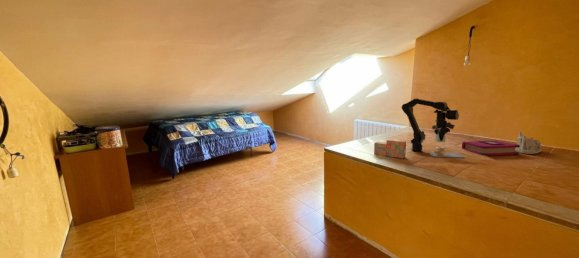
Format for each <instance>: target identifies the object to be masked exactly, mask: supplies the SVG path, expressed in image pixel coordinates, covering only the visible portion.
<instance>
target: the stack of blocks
mask: <svg viewBox="0 0 579 258" xmlns="http://www.w3.org/2000/svg"><path fill="white" fill-rule="evenodd" d="M373 144H374V145H373V147H374V150H373V155H376V154H377V155H376V156H382V157H383V156H384V157H392V158H398V159H405V158H406V152H407V151H406V150H407V140H404V139H403V140H402V139H394V138H388V139H386V142H385V141H375V142H374V143H373Z"/></svg>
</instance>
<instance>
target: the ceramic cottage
mask: <svg viewBox="0 0 579 258" xmlns="http://www.w3.org/2000/svg"><path fill="white" fill-rule="evenodd" d="M516 144H517V145H520V147H516V148H515V151H516V152H519V153H520V154H521V153H522V154H526V155H527V154H528V155H531V154H532V155H535V154H538V153H540V152H542V151H543V150H542V148H541V146H542V145H541V144H542V143H541V141H540V140H539V139H534V136H530V137H528V136H527V135H525V134H523V133H522V131H519V132H518V136H517V137H516Z"/></svg>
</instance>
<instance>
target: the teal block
mask: <svg viewBox="0 0 579 258" xmlns="http://www.w3.org/2000/svg"><path fill="white" fill-rule="evenodd" d="M434 134H435V133H434ZM434 136H435V137H434V139H435V140H434V141H435V142H436V143H446V134H445V135H444V138H443V140H442V141H440V138H439V135H438V134H435V135H434Z"/></svg>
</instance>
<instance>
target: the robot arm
mask: <svg viewBox="0 0 579 258" xmlns="http://www.w3.org/2000/svg"><path fill="white" fill-rule="evenodd" d="M417 105H422V106H427V107H432V108H433V109H435V111H433V114H434V113H435V114H436V119H435V120H434V121H435V124H434V125H432V126H431V129H432V130H433V132H434V134H438V135H439V138H440V141H442V140H443V138H444V135H446V134H448V133H450V132H451V130H454V128H455V124H452V123H451V121H447V120H454V121H457V120H459V117H460V114H459V110H458V109H454V110H453V109H450V107H449V106H448V103H447V102H446V101H433V100H426V99H420V98H413V99H412V100H410V101H407V102H406V103H403V104H402V105H401V110H402V111H403V113H404V114H405V115H406V116H407V119H408V122H409V124H410V127H411V128H412V131H413V134H412V135H413V138H412V139H411V140H410V143H411V151H412V152H423V145H422V144H423V142H424V141H425V140H426V136H427V135H426V134H425V132H424V130H421V129H420V126H419V125H418V122H417V119H416V117H415V115H414V107H416V106H417ZM446 119H447V120H446Z"/></svg>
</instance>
